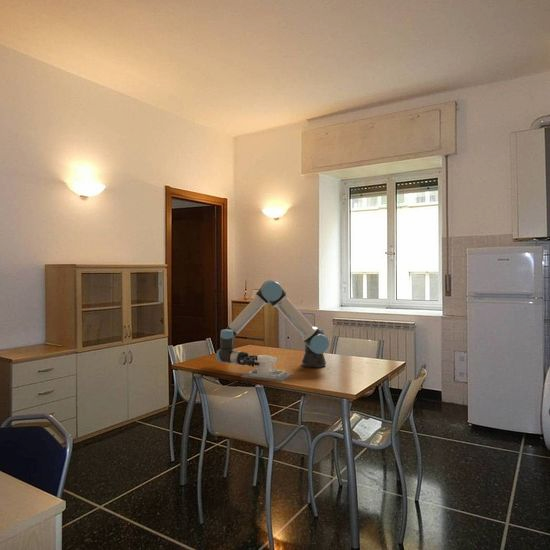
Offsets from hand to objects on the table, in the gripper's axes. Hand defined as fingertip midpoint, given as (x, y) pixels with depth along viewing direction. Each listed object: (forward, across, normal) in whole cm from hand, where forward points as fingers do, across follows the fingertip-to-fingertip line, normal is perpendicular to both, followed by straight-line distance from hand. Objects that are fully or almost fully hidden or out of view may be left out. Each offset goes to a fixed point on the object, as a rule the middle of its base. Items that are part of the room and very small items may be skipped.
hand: (271, 362), depth 249 cm
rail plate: (-3, 0, -8) cm, 9 cm away
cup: (-3, 0, -8) cm, 8 cm away
